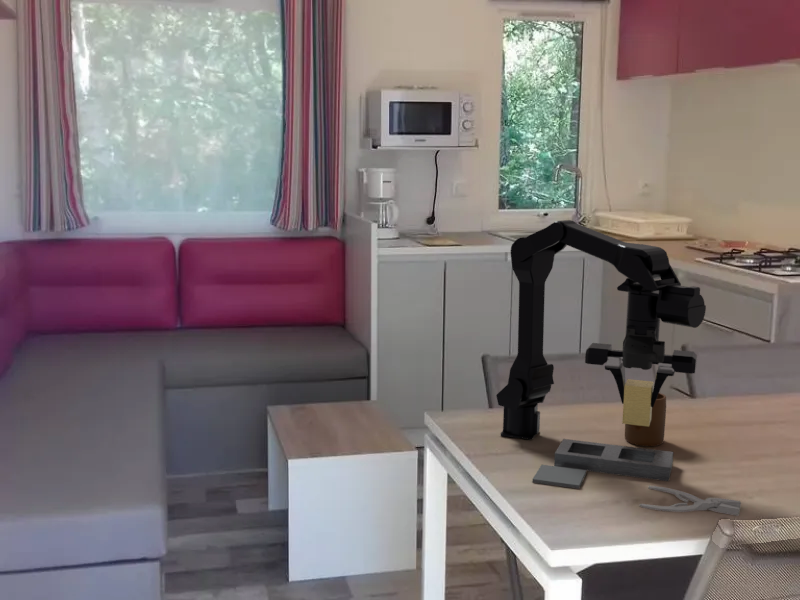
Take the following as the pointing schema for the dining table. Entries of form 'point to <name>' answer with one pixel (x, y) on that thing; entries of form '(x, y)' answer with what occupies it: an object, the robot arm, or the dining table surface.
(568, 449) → the grey flat frame
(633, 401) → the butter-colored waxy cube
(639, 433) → the mug
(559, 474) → the pad
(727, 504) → the pliers
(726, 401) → the dining table surface
